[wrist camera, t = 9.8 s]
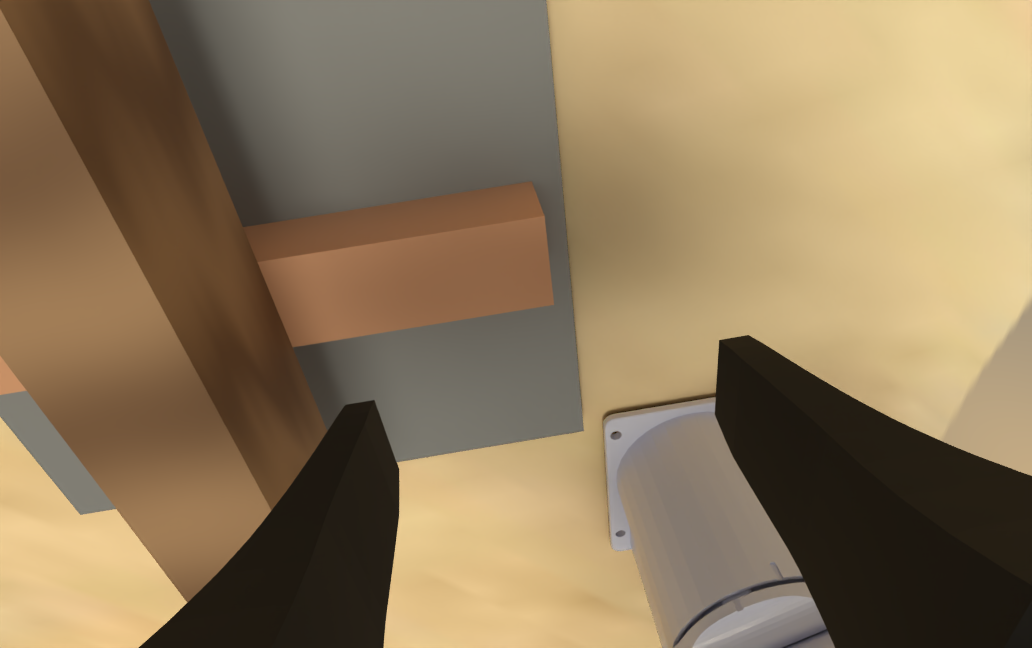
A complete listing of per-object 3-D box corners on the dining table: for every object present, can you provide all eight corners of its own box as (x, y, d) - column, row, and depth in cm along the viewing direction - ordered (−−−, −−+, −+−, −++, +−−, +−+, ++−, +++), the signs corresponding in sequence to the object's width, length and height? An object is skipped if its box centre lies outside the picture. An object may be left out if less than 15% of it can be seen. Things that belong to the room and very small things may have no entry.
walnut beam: (358, 507, 22) (338, 635, 18) (267, 522, 22) (226, 654, 18) (130, -45, 13) (-27, -42, 8) (-34, -20, 13) (-273, -4, 8)
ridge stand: (579, 415, 26) (598, 483, 23) (92, 496, 26) (40, 577, 23) (528, -147, 16) (551, -172, 12) (-311, -20, 15) (-526, -11, 12)
